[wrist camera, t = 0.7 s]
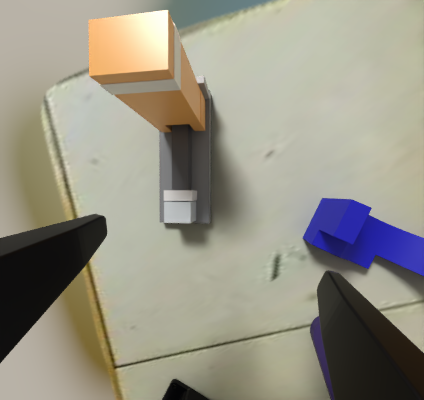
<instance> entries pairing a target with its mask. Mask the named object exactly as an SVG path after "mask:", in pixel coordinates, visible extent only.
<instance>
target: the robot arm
mask: <svg viewBox="0 0 424 400" xmlns="http://www.w3.org/2000/svg"><path fill="white" fill-rule="evenodd" d="M106 236H107V225H106V218H105V217H104V216H102V215H98V214H93V215H89V216H85V217H81V218H77V219H73V220H69V221H66V222H61V223H57V224H53V225H50V226H46V227H42V228H38V229H34V230H30V231H27V232H22V233H19V234H14V235H11V236H7V237H3V238H0V363H1V362H2V361H3V360H4V358H5V357H6V356H7V355H8V354H9V353H10V351H11V350H12V349H13V348H14V347H15V346H16V345H17V343H18V342H19V341H20V340H21V339H22V338H23V337H24V335H25V334H26V333H27V332H28V331H29V330H30V329H31V328H32V326H33V325H34V324H35V323H36V322H37V321H38V320H39V318H40V317H41V316H42V315H43V314H44V312H46V310H47V309H48V308H49V307H50V306H51V305H52V304H53V302H54V301H55V300H56V299H57V298H58V297H59V296H60V294H61V293H62V292H63V291H64V290H65V289H66V288H67V286H68V285H69V284H70V283H71V282H72V280H74V278H75V277H76V276H77V275H78V274H79V273H80V271H81V270H82V269H83V268H84V267H85V265H86V264H87V263H88V261H89V260H90V259H91V257H92V256H93V254H94V253H95V252H96V250H97V249H98V247H99V246H100V245H101V243H102V242H103V241H104V239H105V238H106ZM317 297H318V307H319V318H320V328H321V335H322V341H323V346H324V351H325V356H326V360H327V365H328V370H329V375H330V380H331V385H332V390H333V394H334V399H335V400H424V353H423V352H422V351H421V350H420V349H419V348H418V347H417V346H416V345H415V344H413V343H412V342H411V341H410V340H409V339H408V338H407V337H406V336H405V335H404V334H403V333H402V332H401V331H400V330H399V329H398V328H397V327H395V326H394V325H393V324H392V323H391V322H390V321H389V320H388V319H387V318H386V317H385V316H384V315H383V314H382V313H381V312H380V311H379V310H377V309H376V308H375V307H374V306H373V305H372V304H371V303H370V302H369V301H368V300H367V299H366V298H365V297H364V296H363V295H362V294H361V293H359V292H358V291H357V290H356V289H355V288H354V287H353V286H352V285H351V284H350V283H349V282H348V281H347V280H346V279H345V278H344V277H343V276H341V275H340V274H339V273H337V272H333V271H326V272H325V273H324V275H323V277H322V279H321V281H320V283H319V285H318V288H317ZM174 384H175V385H176V386H175V385H174ZM162 400H209V399H207V398H205V397H204V396H202V395H201V394H199V393H197V392H196V391H194V390H193V389H191V388H189V387H188V386H186V385H185V384H183V383H181V382H180V381H178V380H176V379H173V380H172V381H171V383H170V385H169V387H168V389H167V391H166V393H165V395H164V397H163V399H162Z"/></svg>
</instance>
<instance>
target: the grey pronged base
mask: <svg viewBox="0 0 424 400" xmlns="http://www.w3.org/2000/svg"><path fill="white" fill-rule="evenodd" d="M195 78H196V80H197V83H198V85H199V88H200V90H201V91H202V94H203V96H204V99H205V131H194V130H193V128H192V127H191V126H190V124H182V125H172V132H163V133H162V132H161V131H159V132H160V222H164V223H210V222H211V93H210V90H208V87H207V84H206V80H205V77H204V76H195Z"/></svg>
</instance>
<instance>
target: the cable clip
mask: <svg viewBox="0 0 424 400" xmlns="http://www.w3.org/2000/svg"><path fill="white" fill-rule="evenodd" d="M371 209H372V208H371V207H368V206H366V205H364V204H361V203H359V202H356V201H354V200H352V199H329V198H322V200H321V202H320V204H319V206H318V208H317V210H316V212H315V214H314V216H313V218H312V220H311V222H310V224H309V226H308V228H307V230H306V232H305V234H304V236H303V239H305V240H306V241H307V242H309V243H310V244H312V245H314V246H316V247H318V248H320V249H323V250H325V251H327V252H329V253H331V254H333V255H336V256H338V257H340V258H343V259H346V260H349V261H351V262H353V263H356V264H358V265H360V266H363V267H365V268H367V269H368V268H369V266H370V264H371V263H372V261H373V259H374V257H375V255H378V256H380V257H382V258H384V259H387V260H389V261H391V262H393V263H396V264H398V265H400V266H402V267H405V268H407V269H409V270H411V271H413V272H416V273H418V274H420V275H422V276H424V238H422V237H419V236H416V235H414V234H411V233H409V232H406V231H403V230H401V229H398V228H396V227H394V226H391V225H389V224H387V223H384V222H382V221H380V220H378V219H376V218H374V217H372V216H370V215H368V214H369V212H370V210H371Z"/></svg>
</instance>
